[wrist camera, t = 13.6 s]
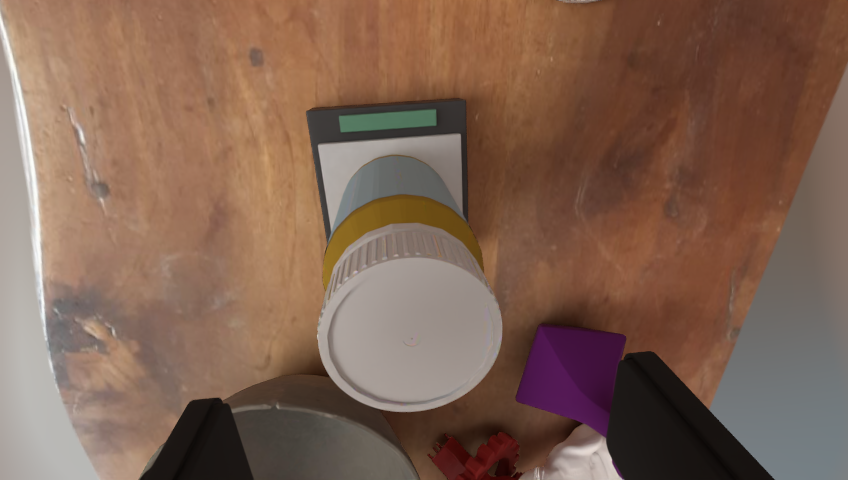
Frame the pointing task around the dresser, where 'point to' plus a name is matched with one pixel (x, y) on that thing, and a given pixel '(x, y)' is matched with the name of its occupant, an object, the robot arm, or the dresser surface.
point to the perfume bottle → (573, 374)
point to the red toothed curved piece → (479, 459)
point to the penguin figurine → (577, 459)
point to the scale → (388, 144)
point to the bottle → (405, 292)
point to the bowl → (314, 433)
